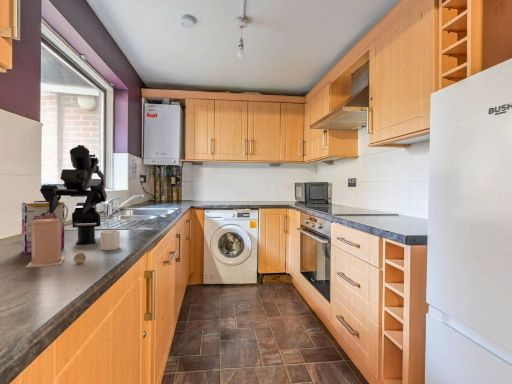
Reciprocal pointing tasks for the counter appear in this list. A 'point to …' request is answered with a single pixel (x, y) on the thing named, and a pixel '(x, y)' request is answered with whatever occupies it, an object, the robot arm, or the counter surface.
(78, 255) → the wooden ball
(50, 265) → the coaster
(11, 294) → the counter surface
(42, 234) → the brown rounded shape
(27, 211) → the candy bar box
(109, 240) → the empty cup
